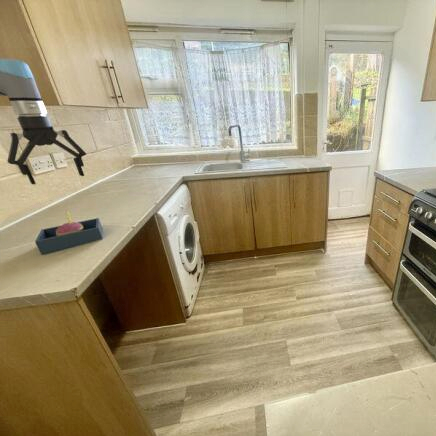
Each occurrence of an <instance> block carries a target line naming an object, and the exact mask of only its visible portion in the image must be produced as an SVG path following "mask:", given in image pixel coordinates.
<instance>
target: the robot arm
mask: <svg viewBox="0 0 436 436" xmlns="http://www.w3.org/2000/svg"><path fill="white" fill-rule="evenodd" d="M0 97H7V98H8V100H9V102H10V105H11V107H12V109H13V111H14V114H15V115H17V116H18V117H17V121H18V123H19V125H20V128H21V130H22V132H21V133H17V132H10V133H9V135H10V138H11V142H10V146H9V151H8V157H7V163H8V164H10V165H16V166H17V167H18V169H19V171H20V173H21V174H22V175H23V176H27V178H28V180H29V182H30V184H31V185H36V184H37V183H36V181H35V179H34V177H33V174H32V172H31V170H30V168H29V165H28V164H27V163H26V160H28V158H29V156H30V154H31V153H32V151H33V150H34V148H35V147H36V146H39V147H42V146H52V145H56V146H57V147H59V148H61V149H62V150H64V151H66V152H67V153H69V154H70V155H72V156H73V161H74V164H75V167H76V170H77V172H78V175H79V176H81V177H84V176H85V173H84V171H83V167H84V166H85V165H84V162H83V159H82V158H83V157H85V156H87V152H85V150H84V149H83V148H82V147H81V146H79V144H77V142H76V141H74V139H72V137H71V136H70V135H69V133H68V131H67V130H65V129H61V130H55V129H54V126H53V124H52V121H51V118H50V116H47V115H48V111H47V109H46V106H45V104H44V102H43V101H44V100H43V99H42V96H41V93H40V91H39V88H38V86H37V83H36V79H35V76H34V74H33V72H32V70H31V69H30V66H29V65H28V64H27V62H25V61H22V60H18V59H11V58H0ZM58 136H59V137H61V138H63V139H64V140H65V141H66V142H67V143H68V144H69V145H70V146H71V147H72V148H73V149H75V150H76V151H74V150H73V149H71V147H68V146H67V145H65V144H64V143H62V142H61V141H59V140H58V139H57V137H58ZM22 138H24V139H26V140H27V143H26V146H25V147H24V149H23V151H22V152H21V153H20V156H19V157H18V159H16V157H17V153H18V148H19V144H20V141H22Z"/></svg>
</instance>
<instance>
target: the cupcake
mask: <svg viewBox="0 0 436 436" xmlns="http://www.w3.org/2000/svg"><path fill="white" fill-rule="evenodd" d="M65 213H66V217H67V221H68V222H66V223H63V224H61V225H59V226H60V227H58V228H57V229H56V232H55V233H56V235H57V236H60V235H65V234H69V233H74V232H79V231H82V229H83V225H82V224H81V223H77V222H78V221H76V222H75V221H72V219H71V217H70V213H69V211H68V210H66V212H65Z"/></svg>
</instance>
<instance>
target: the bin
mask: <svg viewBox="0 0 436 436" xmlns="http://www.w3.org/2000/svg"><path fill="white" fill-rule="evenodd" d="M76 222H77V223H81V224H82V225H83V229H82V231H79V232H74V233H69V234H65V235H60V236H57V235H56V233H55V232H56V229H57V228H58V227H60V226H61V225H57V226H53V227H52V226H51V227H48V228H43V229H40V232H39V233H38V235H37V237H36V239H35V240H34V243H35V245H36V246H37V249H38V251H39V252H40V255H46V254H51V253H55V252H57V251H63V250H67V249H71V248H75V247H79V246H83V245H86V244H91V243H94V242H98V241H102V240H103V239H104V238H103V237H104V235H103V234H104V232H103V231H104V228H103V225H102V223H101V220H100V218H99V217H96V218H92V219H91V218H90V219H87V220H82V221H76Z"/></svg>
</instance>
